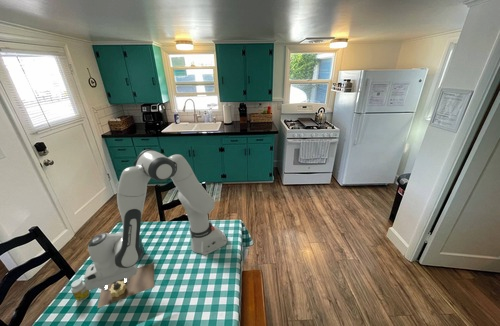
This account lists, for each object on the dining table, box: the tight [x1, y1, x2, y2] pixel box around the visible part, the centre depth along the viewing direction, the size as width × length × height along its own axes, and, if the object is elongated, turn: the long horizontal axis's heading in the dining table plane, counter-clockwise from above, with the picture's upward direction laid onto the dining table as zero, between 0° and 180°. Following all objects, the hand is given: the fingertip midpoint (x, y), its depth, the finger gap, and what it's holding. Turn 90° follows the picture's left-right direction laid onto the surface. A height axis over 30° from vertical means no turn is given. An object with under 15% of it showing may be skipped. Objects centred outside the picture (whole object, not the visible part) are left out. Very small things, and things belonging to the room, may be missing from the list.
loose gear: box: [109, 281, 126, 297], centre depth 98 cm, size 6×6×3 cm
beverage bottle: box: [139, 236, 146, 256], centre depth 117 cm, size 6×7×20 cm
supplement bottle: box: [70, 278, 91, 302], centre depth 97 cm, size 5×5×10 cm
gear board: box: [97, 262, 155, 309], centre depth 102 cm, size 24×16×6 cm, turn 115°
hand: (116, 286), depth 97 cm, fingers open, 7 cm apart
